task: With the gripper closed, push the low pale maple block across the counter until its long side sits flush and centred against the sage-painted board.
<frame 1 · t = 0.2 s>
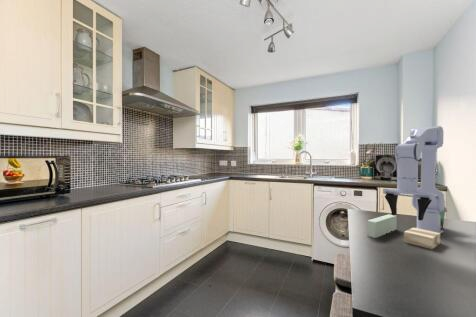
hand: (406, 217, 77), 10 cm above the table, tool pointing down, fingers open, 7 cm apart
sage board: (382, 232, 91), on the table
maple block: (421, 243, 81), on the table
food container: (436, 227, 100), on the table, touching arm
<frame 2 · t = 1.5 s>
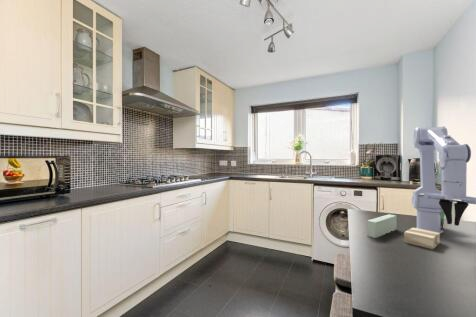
hand: (453, 224, 71), 9 cm above the table, tool pointing down, fingers closed
nothing on the table moved.
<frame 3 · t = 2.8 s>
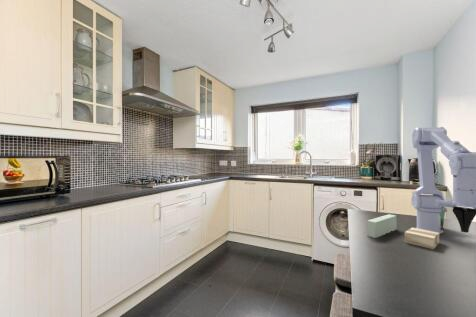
hand: (464, 231, 72), 7 cm above the table, tool pointing down, fingers closed
nothing on the table moved.
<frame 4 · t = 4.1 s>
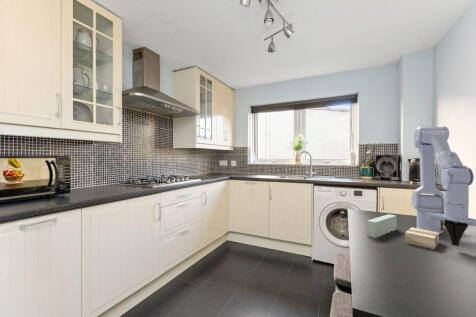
hand: (455, 244, 73), 2 cm above the table, tool pointing down, fingers closed
nothing on the table moved.
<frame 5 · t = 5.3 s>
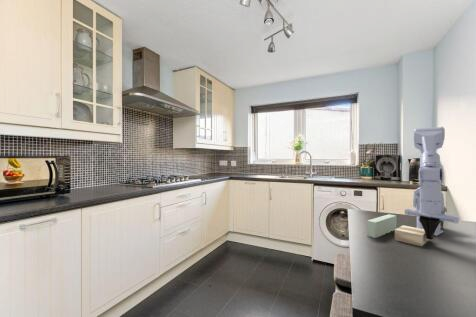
hand: (429, 238, 79), 2 cm above the table, tool pointing down, fingers closed
maple block: (411, 240, 83), on the table
everything else where it was.
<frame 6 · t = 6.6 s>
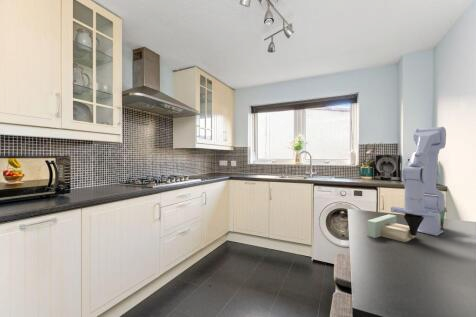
hand: (413, 235, 83), 2 cm above the table, tool pointing down, fingers closed
maple block: (397, 236, 87), on the table, touching gripper, sage board
everything else where it was.
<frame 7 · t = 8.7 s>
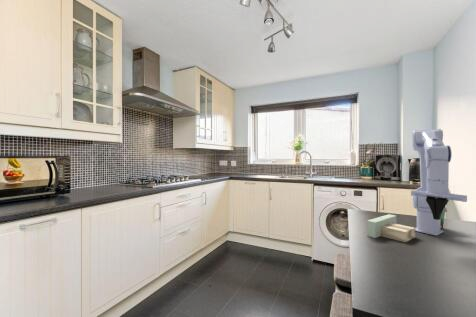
hand: (436, 219, 78), 9 cm above the table, tool pointing down, fingers closed
maple block: (398, 237, 87), on the table
everything else where it was.
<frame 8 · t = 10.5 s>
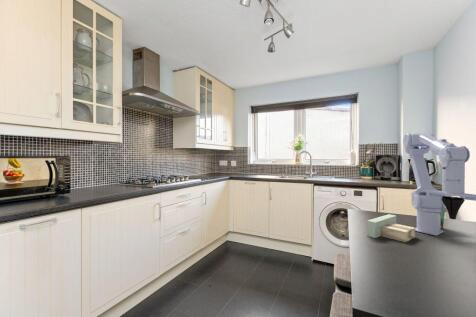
hand: (452, 218, 78), 9 cm above the table, tool pointing down, fingers closed
nothing on the table moved.
at the end: maple block 0.7 cm from the target spot on the table beside the sage board, on the table; maple block tilted 0° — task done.
